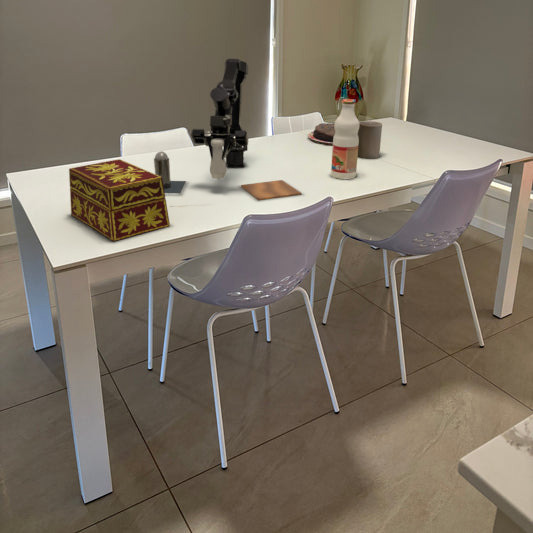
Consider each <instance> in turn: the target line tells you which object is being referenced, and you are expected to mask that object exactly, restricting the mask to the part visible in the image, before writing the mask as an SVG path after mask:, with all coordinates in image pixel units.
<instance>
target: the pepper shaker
mask: <svg viewBox="0 0 533 533" xmlns="http://www.w3.org/2000/svg"><path fill="white" fill-rule="evenodd" d="M170 165H171V164H170V157H169V156H168V154H167V153H166V152H165V151H158V152H157V153H155V156H154V158H153V166H154V168H153V169H154V174H156V175H158V176H160V177H162V180H163V186H164V189H167V188H170V187H171V181H172V180H171V166H170Z"/></svg>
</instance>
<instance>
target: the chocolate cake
mask: <svg viewBox="0 0 533 533" xmlns="http://www.w3.org/2000/svg"><path fill="white" fill-rule="evenodd" d="M334 124H335V122H334V123H332V122H331V123H330V122H327V123H319V124H318V125H315V127H314V130H313V131H311V132H309V133H308V134H307V137H308V138H309V139H310V140H311V141H312V143H318V144H324V145H326V146H333V137H334V135H335V128H334Z"/></svg>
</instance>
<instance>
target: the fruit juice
mask: <svg viewBox="0 0 533 533" xmlns="http://www.w3.org/2000/svg"><path fill="white" fill-rule="evenodd" d="M355 106H356V99H352V98H344V99H343V98H342V99H341V110H340V113H339V115H338V116H337V118H336V119H335V120H334V123H335V124H334V128H335V135H334V137H333V145H332V150H331V151H332V152H331V169H330V173H331V174H330V175H331V177H333V178H335V179H339V180H351V179H354V178H356V176H357V170H358V168H357V167H358V158H359V157H358V145H359V137H358V130H359V126H360V124H359V122H360V120H359V119H358V118H357V116H356V112H355Z"/></svg>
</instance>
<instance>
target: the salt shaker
mask: <svg viewBox="0 0 533 533" xmlns="http://www.w3.org/2000/svg"><path fill="white" fill-rule="evenodd" d="M211 146H212V147H213V150H212V151H213V159H211V158H210V165H209V173H210V175H211V178H213V179H215V180H221V179H225V177H226V174H227V172H228V169H227V168H228V167H227V165H226V158H224V160H222V154H223V148H224V147H223V146H224V141H223V139H219V138H217V139H213V140H211Z"/></svg>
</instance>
